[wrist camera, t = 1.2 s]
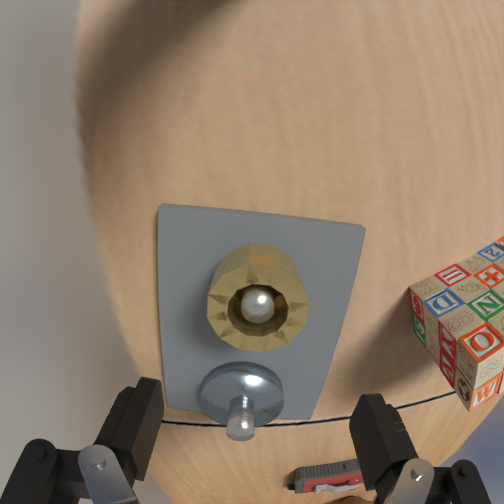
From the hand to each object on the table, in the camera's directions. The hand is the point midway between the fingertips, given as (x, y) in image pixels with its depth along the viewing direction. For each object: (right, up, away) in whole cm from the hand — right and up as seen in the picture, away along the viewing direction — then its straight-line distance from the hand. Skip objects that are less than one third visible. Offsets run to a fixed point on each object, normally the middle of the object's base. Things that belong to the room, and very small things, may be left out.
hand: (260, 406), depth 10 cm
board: (-1, -1, +16) cm, 16 cm away
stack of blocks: (+25, +4, +14) cm, 29 cm away
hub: (-1, -8, +17) cm, 19 cm away
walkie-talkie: (+15, -29, +26) cm, 42 cm away
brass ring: (0, +4, +11) cm, 11 cm away
